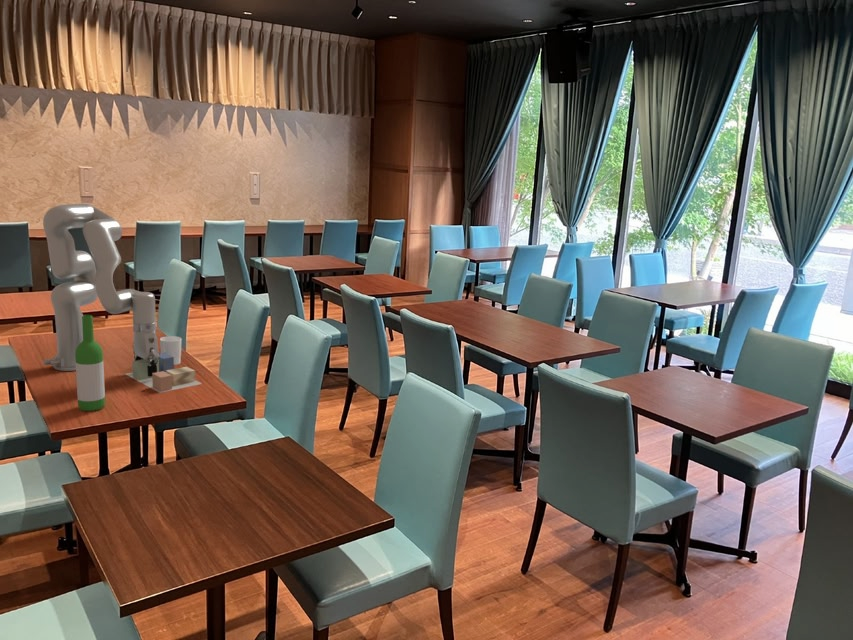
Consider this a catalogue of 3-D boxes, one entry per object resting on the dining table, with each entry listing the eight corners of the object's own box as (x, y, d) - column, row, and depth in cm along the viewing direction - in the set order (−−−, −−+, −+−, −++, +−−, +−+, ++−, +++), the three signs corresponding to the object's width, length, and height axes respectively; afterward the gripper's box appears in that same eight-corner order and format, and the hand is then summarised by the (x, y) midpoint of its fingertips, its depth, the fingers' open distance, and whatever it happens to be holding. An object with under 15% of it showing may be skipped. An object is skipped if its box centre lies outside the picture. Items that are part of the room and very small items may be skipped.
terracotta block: (161, 391, 235) (160, 377, 234) (152, 386, 239) (152, 373, 238) (172, 389, 238) (171, 375, 237) (163, 384, 242) (163, 371, 241)
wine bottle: (91, 413, 212) (86, 319, 206) (72, 409, 215) (67, 316, 208) (110, 406, 220) (107, 315, 213) (92, 402, 222) (87, 311, 215)
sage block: (137, 379, 245) (137, 363, 244) (132, 377, 248) (132, 361, 246) (159, 375, 251) (158, 360, 250) (154, 373, 253) (153, 357, 252)
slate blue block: (173, 372, 256) (173, 357, 254) (163, 374, 253) (163, 358, 251) (164, 367, 260) (164, 352, 259) (154, 369, 257) (154, 354, 256)
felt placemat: (159, 393, 234) (159, 392, 234) (125, 374, 251) (125, 373, 250) (202, 384, 245) (202, 383, 245) (166, 366, 262) (166, 366, 262)
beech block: (174, 385, 242) (174, 374, 241) (166, 381, 246) (165, 370, 245) (195, 381, 248) (195, 370, 247) (186, 377, 251) (186, 366, 251)
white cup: (177, 367, 263) (177, 341, 261) (157, 365, 263) (156, 340, 261) (185, 361, 271) (184, 336, 268) (165, 360, 271) (164, 335, 268)
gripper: (166, 330, 242) (167, 376, 246) (143, 320, 253) (144, 365, 257) (145, 333, 237) (147, 380, 241) (123, 323, 248) (124, 368, 252)
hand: (145, 372), depth 249 cm, fingers open, 9 cm apart
